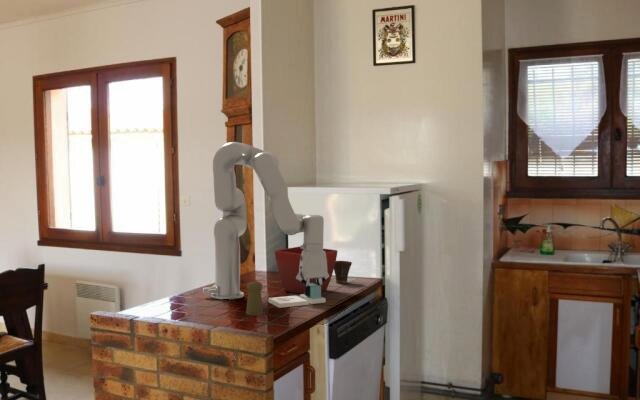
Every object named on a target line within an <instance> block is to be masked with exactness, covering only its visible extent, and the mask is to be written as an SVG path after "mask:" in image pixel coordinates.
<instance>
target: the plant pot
mask: <svg viewBox="0 0 640 400" xmlns="http://www.w3.org/2000/svg"><path fill="white" fill-rule="evenodd" d="M302 251H303V249H301V248H300V246H295V247H288V248H282V249H276V250H274V255H275V261H276V266H277V270H278V273H279V276H280V280H281V284H282V286H283V288H284V290H285V291H286V292H290V293H291V292H292V293H294V294H295V293H296V294H300V295H301V294H304V285H303V283H302V282H301V281H299V280H297V279H296V277H297V275H298V273H299V267H300V258H301V253H302ZM323 251H325V253H326V259H327V272H328V274H329V277H328V278H327V279H325V281H324V282H323V283H322V285H321V292H324V291H327V290H328V286H329V285H330V282H331V279H332V277H333V273H334V267H335V262H336V261H337V258H338V250H336V249H329V248H323ZM301 278H302V279H304V277H301ZM309 283H314V284H316V278H311V279H310V282H309Z"/></svg>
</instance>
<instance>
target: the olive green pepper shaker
mask: <svg viewBox="0 0 640 400" xmlns="http://www.w3.org/2000/svg"><path fill="white" fill-rule="evenodd" d="M246 288H247V291H248V295H247V302H246V309H245V310H246V311H245V315H247V314H248V315H247V316H261V315H264V308H263V300H262V290H263V283H262V282H261V281H255V280H254V281H250V282H248V283H247V286H246Z"/></svg>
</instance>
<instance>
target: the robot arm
mask: <svg viewBox="0 0 640 400" xmlns="http://www.w3.org/2000/svg"><path fill="white" fill-rule="evenodd" d="M235 165H242V166H245V167H246V168H249V169H251V170H254V172H255V174H256V176H257V178H258V180H259V182H260V184H261V186H262V188H263V191H264V192H265V194H266V196H267V200H268V203H269V206H270V209H271V212H272V214H273V216H274V219H275V221H276V223H277V224H278V226H279V228H280V230H281V231H282V232H283V234H286V235H288V236H295V235H297V234H300V233H303V242H302V244H300V246H299V247H300V248H301V249H303V251H302V253H301V258H300V267H299V273H298V275H297V277H296V279H297V280H299V281H301V282H302V283H303V285H304V294H305V296H308V297H310V286H309V282H310V279H311V278H316V284H317V285H319V286H321V285H322V283H323V282H324V281H325V279H327V278H328V277H329V274H328V272H327V259H326V253H325V251H323V249H324V229H325V228H324V225H325V224H324V222H325V221H324V220H325V219H324V217H323V216H322V215H320V214H319V215H318V214H302V213H295V211H294V209H293V206H292V204H291V202H290V199H289V189H288V184H287V182H286V181H285V179H284V176H283V175H282V172H281V171H280V169H279V165H280V163H279V159H278V158H277V156H276V155H275V154H273V153H272V152H269V151H266V150H262V149H260V148H258V147H255V146H252V145H250V144H247V143H245V142H238V141H232V142H227V143H225V144H224V145H221V146H220V147H219V148H218V149H217V151H216V152H215V154H214V156H213V159H212V174H213V175H212V176H213V190H214V191H213V193H214V205H215V207H216V209H217V210H219V211H220V212H222V214H223V215H222V216H221V217H220V218H218V219H217V220H216V222H215V223H214V227H213V236H214V237H213V238H214V246H215V247H214V249H215V251H214V252H215V253H214V255H215V258H214V260H215V265H214V267H215V268H214V270H215V271H214V274H215V276H214V277H215V279H214V280H215V281H214V282H215V283H214V284H212V286H210V287H203V288H202V293H203V294H210V297H211V298H213V299H216V300H223V299H229V300H237V299H242V298H243V297H244V296H245V293H244V292H243V291H241V290H240V289H241V244H240V237H241V236H243V235H244V234H245V232H246V230H247V227H248V226H247V225H248V224H247V223H248V220H247V206H246V199H245V195H244V192H243V191H242V190H241V189H239V188H238V187H237V182H236V181H237V177H236V173H235ZM301 277H304V279H302V278H301Z"/></svg>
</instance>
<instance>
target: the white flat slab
mask: <svg viewBox="0 0 640 400" xmlns="http://www.w3.org/2000/svg"><path fill="white" fill-rule="evenodd" d="M268 303H269V304H271V305H274V306H276V307H277V308H279V309H280V308H289V307H291V308H292V307H298V306H299V307H300V306H301V307H302V306H309V305H310V303H309V300H306V299H304V298H302V297H300V295H298V294H296V295H287V296H277V297H268Z"/></svg>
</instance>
